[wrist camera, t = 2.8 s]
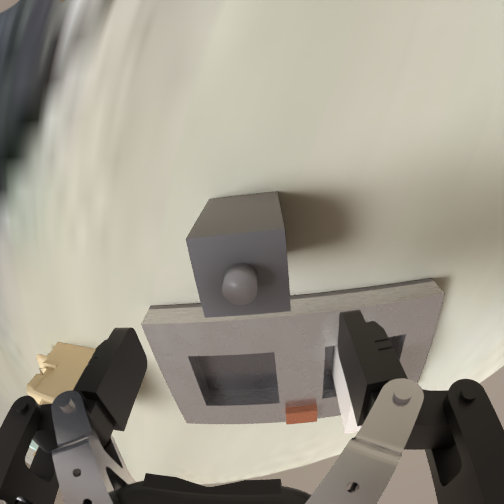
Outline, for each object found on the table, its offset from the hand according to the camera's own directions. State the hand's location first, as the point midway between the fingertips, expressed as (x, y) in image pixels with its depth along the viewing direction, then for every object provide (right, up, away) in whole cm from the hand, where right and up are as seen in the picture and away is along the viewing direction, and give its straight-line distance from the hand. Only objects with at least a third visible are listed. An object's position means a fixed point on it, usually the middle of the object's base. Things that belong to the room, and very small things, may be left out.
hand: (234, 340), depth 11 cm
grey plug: (0, +5, +10) cm, 11 cm away
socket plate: (+5, -6, +15) cm, 17 cm away
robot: (-18, -10, +18) cm, 28 cm away
